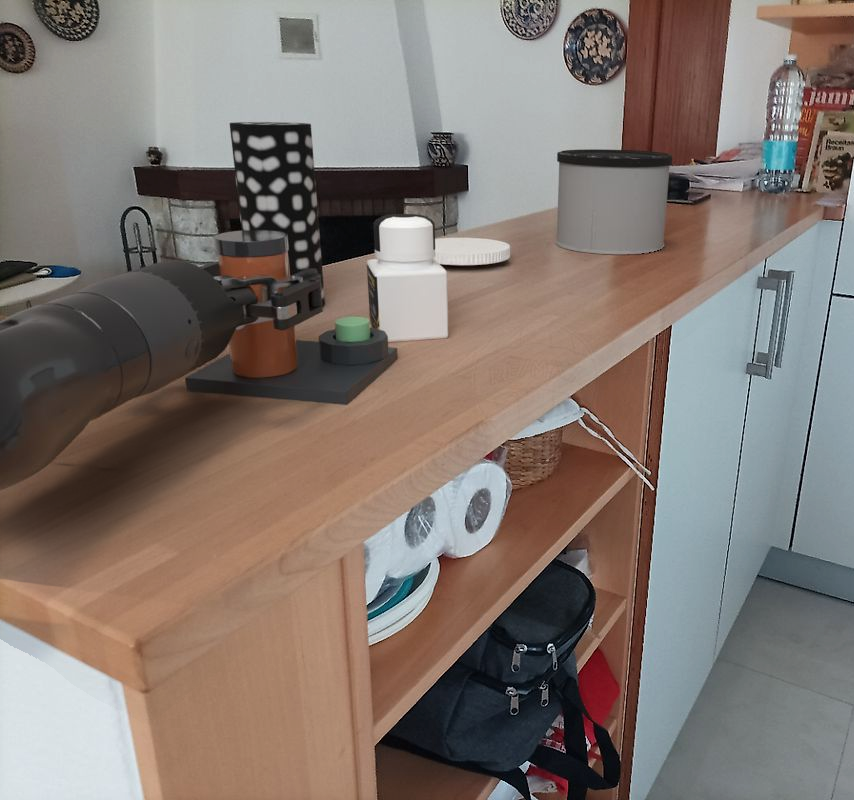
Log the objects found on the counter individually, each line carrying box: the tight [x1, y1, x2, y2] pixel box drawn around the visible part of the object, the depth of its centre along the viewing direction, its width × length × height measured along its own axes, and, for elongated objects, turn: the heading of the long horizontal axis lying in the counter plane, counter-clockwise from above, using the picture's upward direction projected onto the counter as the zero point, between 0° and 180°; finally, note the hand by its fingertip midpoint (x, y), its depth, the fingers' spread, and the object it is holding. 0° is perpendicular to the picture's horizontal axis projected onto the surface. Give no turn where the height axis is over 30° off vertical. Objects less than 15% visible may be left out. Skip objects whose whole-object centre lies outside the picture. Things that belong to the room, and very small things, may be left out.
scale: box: [184, 327, 399, 406], centre depth 68 cm, size 14×12×3 cm
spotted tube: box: [229, 121, 326, 308], centre depth 87 cm, size 8×8×20 cm
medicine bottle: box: [366, 213, 449, 343], centre depth 80 cm, size 7×7×12 cm
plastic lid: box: [434, 237, 511, 266], centre depth 116 cm, size 14×14×2 cm
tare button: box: [334, 316, 371, 342], centre depth 70 cm, size 3×3×2 cm
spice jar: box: [213, 230, 298, 378], centre depth 65 cm, size 6×6×11 cm
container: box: [555, 148, 674, 256], centre depth 131 cm, size 19×19×15 cm
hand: (267, 277), depth 66 cm, fingers open, 8 cm apart
